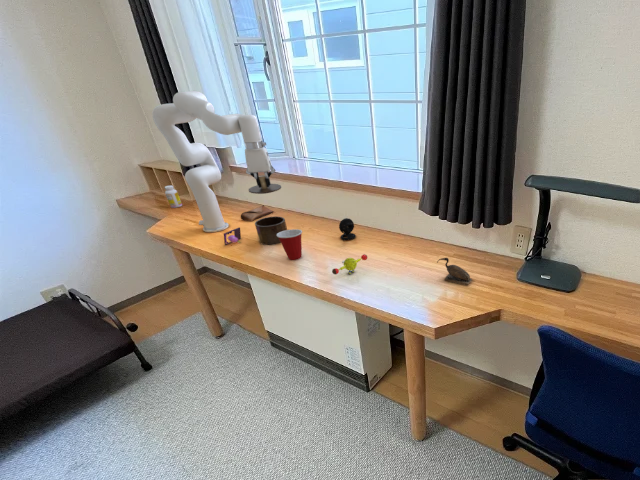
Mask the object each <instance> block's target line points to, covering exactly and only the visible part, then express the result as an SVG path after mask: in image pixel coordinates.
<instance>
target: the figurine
mask: <svg viewBox="0 0 640 480" xmlns="http://www.w3.org/2000/svg"><path fill="white" fill-rule="evenodd" d="M439 261H446V262H445V268H446V271H447V272H448V274H447V275H446V277H444V281H446V282H450V283H455V284H458V285H464V286H469V285H470V283H472V281H473V278H471V275H470V274H469V272H467V271H466V270H465V269H464V268H462V267H460V266H458V265H456V264H449V261H450V260H449V258H448V257H443V258H439V259H438V260H437V263H439ZM448 264H449V265H448Z"/></svg>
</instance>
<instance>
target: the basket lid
mask: <svg viewBox="0 0 640 480" xmlns="http://www.w3.org/2000/svg"><path fill="white" fill-rule="evenodd" d="M258 176H259V180H260V184H261V188H259V186H258V185H257V184H256V185H253V186H251V187H249V188H248V193H251V194H254V195H255V194H257V195H263V194H265V195H266V194H271V193H274V192H275V193H276V192H278V191H280V190H281V189H282V185H281V184H279V183H271V185H270V186H269V187H267V185H266V181H265V179H266V177H265V174H263V175H262V174H261V175H258Z"/></svg>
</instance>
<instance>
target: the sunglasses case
mask: <svg viewBox="0 0 640 480" xmlns="http://www.w3.org/2000/svg"><path fill="white" fill-rule="evenodd" d="M274 212H275V210H271V209H270V208H269V207H267V206H265V205H264V204H263V205H261V206H258V207H255V208H252V209H250V210H248V211H244V212H242V213H240V219H241V220H242V221H243V222H254V221H257V220H259V219H262V218H264V217H267V216H268V215H269V214H270V215H271V214H272V213H274Z"/></svg>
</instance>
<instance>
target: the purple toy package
mask: <svg viewBox="0 0 640 480" xmlns="http://www.w3.org/2000/svg"><path fill="white" fill-rule="evenodd" d="M233 233H234V235H233ZM230 234H231V235H230ZM227 235H229V236H228V237H227ZM228 240H229V242H228ZM240 240H242V235H241V227H237V228H234V229H231V230H229V231H226V232H224V233H223V241H224V246H227V245H229V244H231V243H233V244H234V243H241V241H240Z"/></svg>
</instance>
